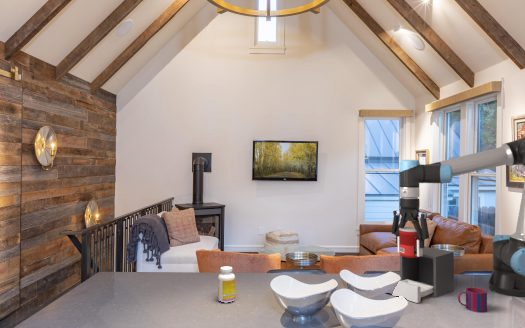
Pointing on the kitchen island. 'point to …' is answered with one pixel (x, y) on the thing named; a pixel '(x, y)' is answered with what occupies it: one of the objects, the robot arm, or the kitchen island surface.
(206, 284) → the kitchen island surface
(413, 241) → the canned food
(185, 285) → the kitchen island surface
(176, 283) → the kitchen island surface
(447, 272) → the housing
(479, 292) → the mug
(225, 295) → the supplement bottle
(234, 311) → the kitchen island surface
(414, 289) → the tray
